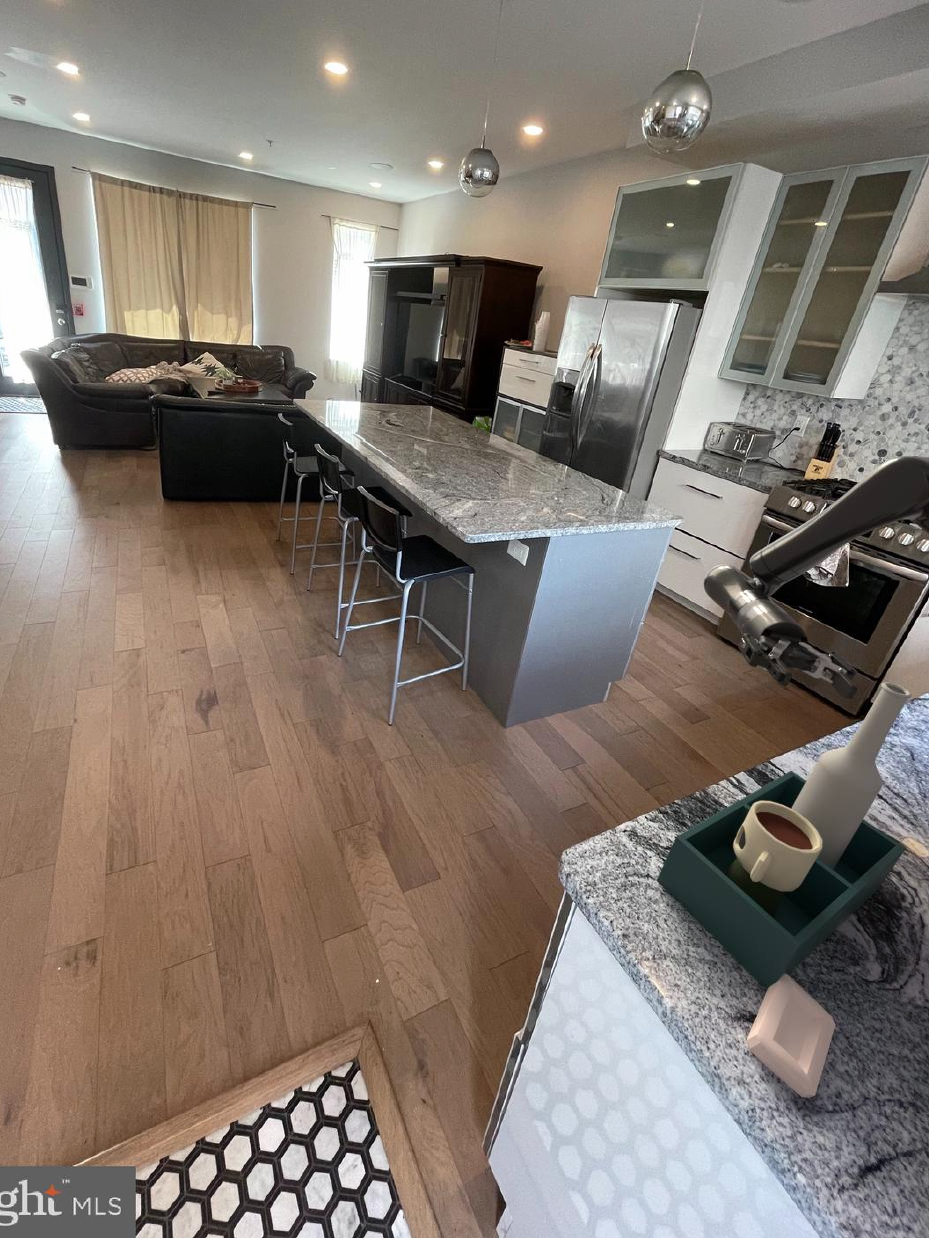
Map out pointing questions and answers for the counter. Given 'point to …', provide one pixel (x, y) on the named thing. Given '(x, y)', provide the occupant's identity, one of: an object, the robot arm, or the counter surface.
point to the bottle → (849, 778)
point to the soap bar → (792, 1035)
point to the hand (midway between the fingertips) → (819, 687)
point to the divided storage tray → (802, 911)
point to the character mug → (773, 853)
